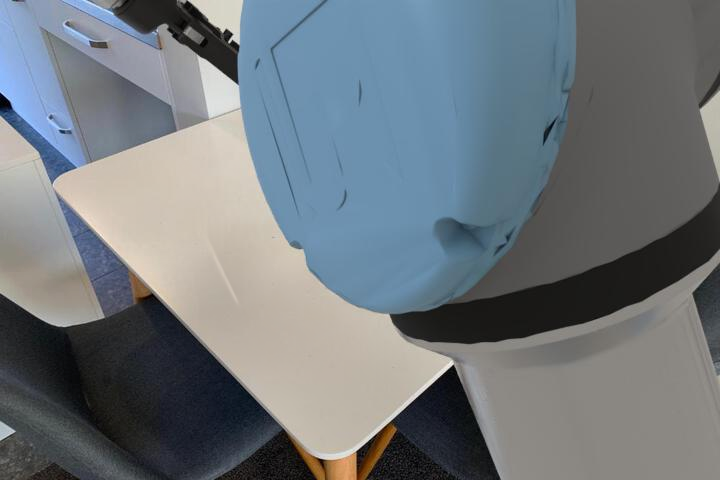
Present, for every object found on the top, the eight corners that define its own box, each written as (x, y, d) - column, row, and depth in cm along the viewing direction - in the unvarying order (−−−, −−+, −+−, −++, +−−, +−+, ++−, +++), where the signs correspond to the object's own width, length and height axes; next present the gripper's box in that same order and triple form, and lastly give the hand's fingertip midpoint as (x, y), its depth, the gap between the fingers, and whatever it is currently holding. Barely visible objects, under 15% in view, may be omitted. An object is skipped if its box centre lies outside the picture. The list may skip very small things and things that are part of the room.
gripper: (178, -26, 43) (344, 110, 58) (129, -71, 60) (267, 43, 75) (128, 48, 44) (302, 163, 59) (94, -16, 61) (236, 85, 76)
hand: (283, 96), depth 67 cm, fingers open, 13 cm apart
